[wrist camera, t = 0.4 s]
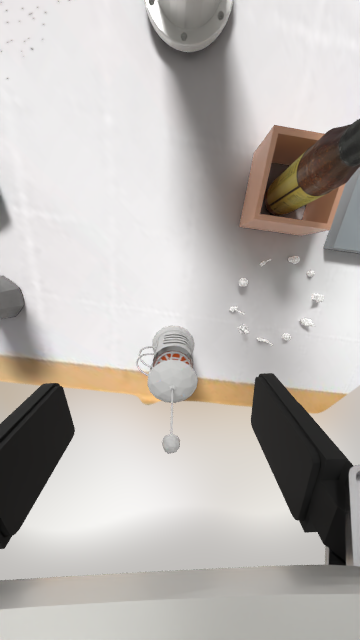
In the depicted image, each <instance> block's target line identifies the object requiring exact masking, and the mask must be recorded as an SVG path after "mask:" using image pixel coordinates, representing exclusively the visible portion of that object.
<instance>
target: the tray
mask: <svg viewBox="0 0 360 640" xmlns="http://www.w3.org/2000/svg"><path fill="white" fill-rule="evenodd" d="M324 249H331V250H338V251H346V252H353V253H360V167H359V168H358V169H357V171H356V172H355V173H354V174H353V175H352V176H351V178H350V179H349V181H348V182H347V183H345V186H344V189H343V192H342V195H341V198H340V201H339V204H338V207H337V210H336V213H335V216H334V219H333V222H332V225H331V228H330V230H329V233H328V236H327V239H326V242H325V245H324Z"/></svg>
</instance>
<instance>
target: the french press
mask: <svg viewBox="0 0 360 640" xmlns="http://www.w3.org/2000/svg"><path fill="white" fill-rule="evenodd" d="M145 348H153V350H154V353H153V354H143V355H141V356H140V353H141V351H142V350H144V349H145ZM145 348H143V349H141V350H140V351H139V354H138V355H139V358H138V359H137V361H136V365H137V367H138V369H139V370H140V371H141V372H142V373H143V374H145V375H146V376H148V387H149V389H150V392H151V393H152V394H153V395H154V396H155V397H156V398H157V399H160V400H162V401H164V402H171V432H170V435H166V436H165V437H164V438H163V443H162V445H163V448H164V450H165V452H167V453H168V454H169V453H174V452H176V451H177V450H178V449H179V447H180V446H179V445H180V443H179V442H180V440H179V438H178V436H176V435H172V423H173V421H172V420H173V403H176V402H180V401H184V400H185V399H187V398H188V397H190V396H191V395H192V394H193V392H194V391H195V389H196V387H197V382H198V379H197V376H196V372H195V371H194V370H193V369H192V367H193V360H192V352H193V350H194V340H193V337H192V335H191V334H190V333H189V332H188V331H187V330H186V329H184V328H182V327H180V326H168V327H164V328H162V329H161V330H160V331H158V332H157V333H156V335H155V337H154V339H153V346H152V347H145ZM154 354H155V355H154ZM144 355H154V359H153V364H152V365H151V366H149V365H147V364H146V363H144V362H143V361H142V359H141V357H142V356H144ZM139 359H140V360H141V362H142V363H143V364H144V365H146V366H148V367H151V368H150V372H149V374H146V373H145V372H143V371H142V370H141V369H140V368H139V366H138V360H139ZM152 367H153V369H152Z"/></svg>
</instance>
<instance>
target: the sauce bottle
mask: <svg viewBox="0 0 360 640" xmlns="http://www.w3.org/2000/svg"><path fill="white" fill-rule="evenodd" d="M359 167H360V119H359V120H357V121H355V122H354V123H353V124H351V125H347V126H343V127H338V128H333V129H331V130H329V131H328V132H327V133H326V134H325V135H323V136H322V137H321V138H320V139H319V140H318V141H317V142H316V143H315V144H314V145H312V146H311V147H310V148H308V149H307V150H306V151H305V152H304V153H303V154H302V155H301V156H300V157H299V158H298V159H297V160H296V161H294V162H293V163H292V164H291V165H290V166H289V167H288V168H287V169H286V170H285V171H284V172H283V173H281V174H280V175H279V176H278V177H277V178H276V179H275V180H274V181H273V182H272V183H271V185H270V187H269V188H268V190H267V192H266V194H265V204H266V208H267V210H268V211H269V212H270V213H272V214H274V215H277V216H280V215H284V214H287V213H290V212H292V211H294V210H296V209H298V208H300V207H302V206H304V205H306V204H308V203H310V202H312V201H314V200H316V199H318V198H320V197H322V196H324V195H326V194H328V193H329V192H331V191H332V190H333V189H336V188H338V187H340V186H341V185H343V184H345V183H347V182H348V181H349V179H350V178H351V176H352V175H353V174H354V173H355V172H356V171H357V169H358V168H359Z"/></svg>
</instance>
